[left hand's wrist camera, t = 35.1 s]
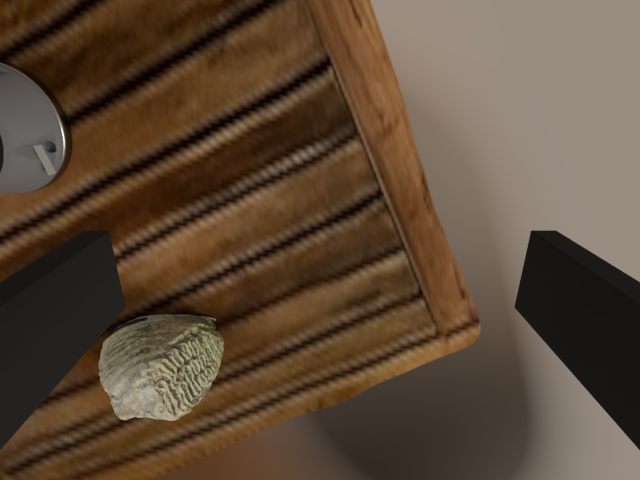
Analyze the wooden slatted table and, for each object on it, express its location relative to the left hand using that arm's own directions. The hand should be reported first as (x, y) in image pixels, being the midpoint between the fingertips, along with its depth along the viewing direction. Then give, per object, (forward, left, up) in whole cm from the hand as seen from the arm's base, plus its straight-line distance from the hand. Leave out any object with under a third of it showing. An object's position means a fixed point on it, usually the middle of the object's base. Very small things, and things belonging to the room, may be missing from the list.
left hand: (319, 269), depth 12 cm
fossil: (-34, -14, -37) cm, 52 cm away
